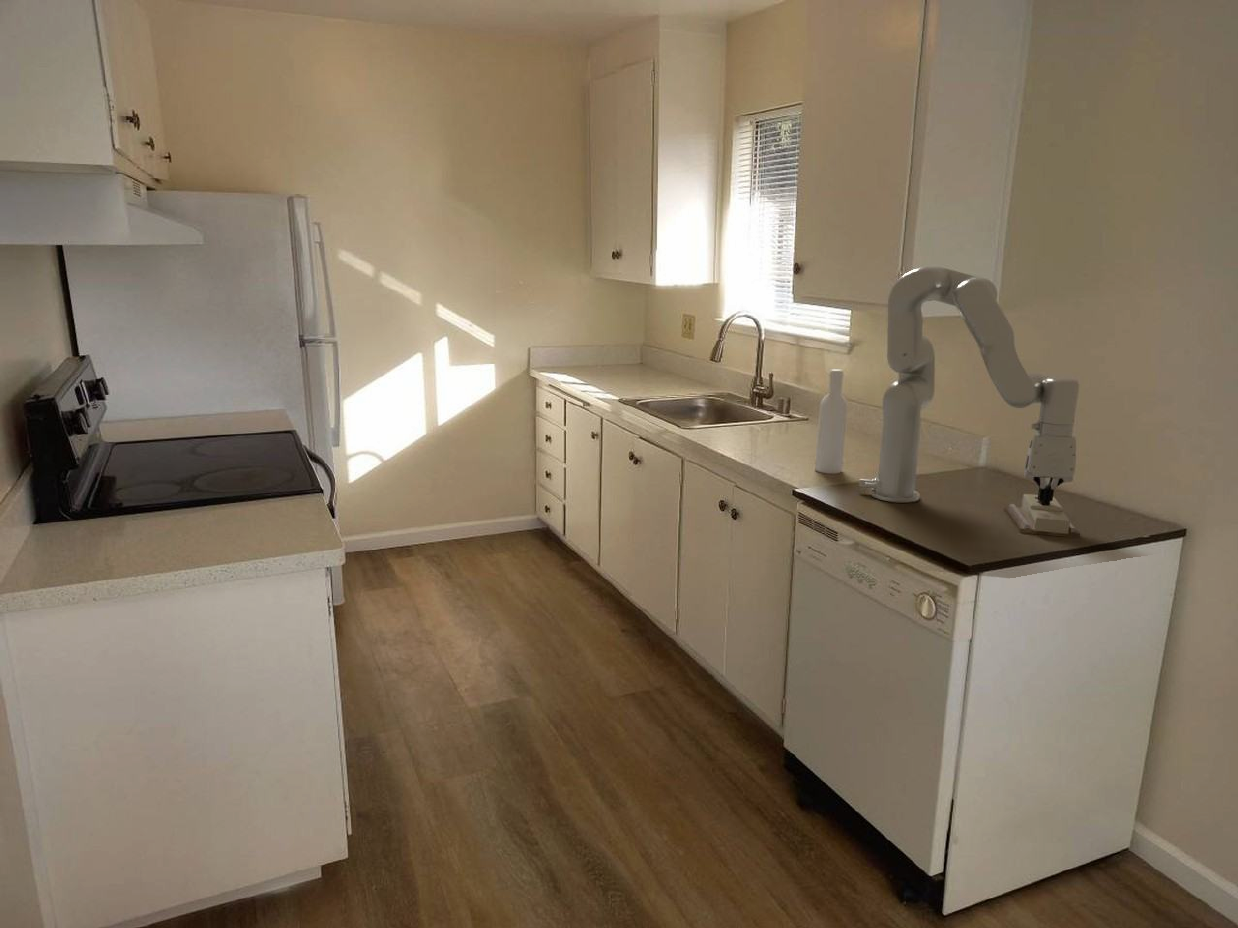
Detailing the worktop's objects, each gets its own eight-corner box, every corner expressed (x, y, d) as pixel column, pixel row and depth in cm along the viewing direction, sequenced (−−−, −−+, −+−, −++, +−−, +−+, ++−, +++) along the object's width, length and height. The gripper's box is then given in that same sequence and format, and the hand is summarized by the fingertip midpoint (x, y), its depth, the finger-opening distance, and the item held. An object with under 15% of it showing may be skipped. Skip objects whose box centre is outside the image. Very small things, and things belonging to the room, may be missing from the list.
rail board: (1019, 532, 203) (1020, 524, 203) (1004, 510, 220) (1005, 502, 220) (1079, 537, 200) (1080, 529, 200) (1059, 514, 217) (1060, 507, 217)
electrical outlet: (1036, 513, 201) (1023, 493, 217) (1034, 530, 202) (1021, 508, 218) (1070, 517, 199) (1054, 495, 216) (1068, 533, 200) (1051, 511, 217)
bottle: (816, 466, 261) (824, 367, 253) (843, 468, 258) (852, 369, 250) (813, 472, 253) (821, 370, 246) (840, 475, 251) (849, 372, 243)
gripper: (1024, 430, 202) (1014, 505, 207) (1094, 434, 199) (1082, 510, 204) (1017, 424, 209) (1008, 497, 214) (1084, 428, 206) (1073, 501, 211)
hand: (1044, 503), depth 209 cm, fingers closed
